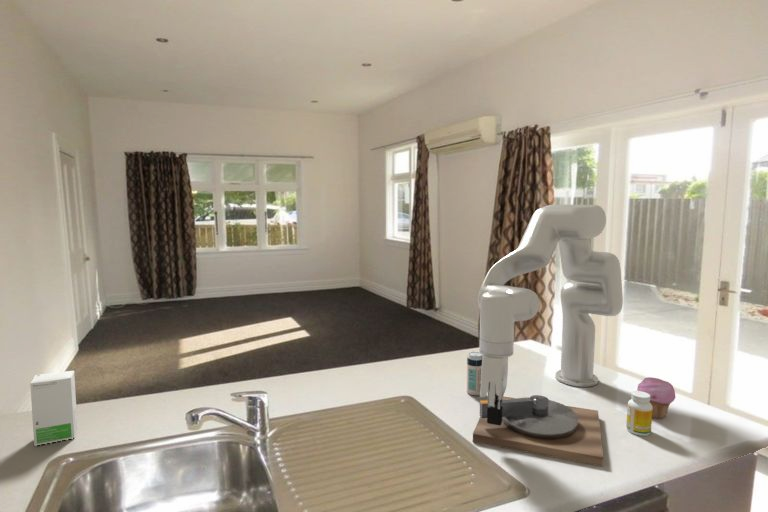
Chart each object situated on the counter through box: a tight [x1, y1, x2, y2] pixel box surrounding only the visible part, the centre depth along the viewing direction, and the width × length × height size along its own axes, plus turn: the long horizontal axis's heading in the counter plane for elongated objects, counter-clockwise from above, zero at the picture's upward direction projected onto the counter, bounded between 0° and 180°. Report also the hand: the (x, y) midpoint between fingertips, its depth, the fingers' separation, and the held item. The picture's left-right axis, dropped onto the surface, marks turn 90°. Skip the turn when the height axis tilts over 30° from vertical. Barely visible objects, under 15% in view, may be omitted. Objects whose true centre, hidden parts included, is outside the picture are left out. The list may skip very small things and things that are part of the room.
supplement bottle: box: [625, 390, 653, 437], centre depth 113 cm, size 5×5×10 cm
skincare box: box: [30, 370, 78, 447], centre depth 112 cm, size 8×7×16 cm
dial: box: [479, 394, 578, 439], centre depth 114 cm, size 24×18×6 cm
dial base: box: [472, 395, 604, 467], centre depth 115 cm, size 24×28×2 cm
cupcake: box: [636, 376, 676, 419], centre depth 121 cm, size 9×9×10 cm
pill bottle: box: [466, 351, 483, 397], centre depth 136 cm, size 5×5×12 cm
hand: (494, 422), depth 107 cm, fingers closed
